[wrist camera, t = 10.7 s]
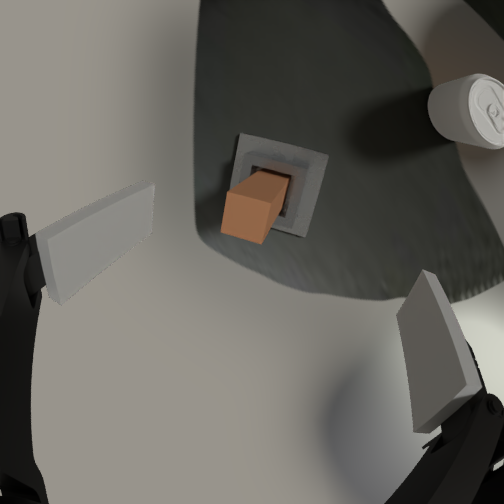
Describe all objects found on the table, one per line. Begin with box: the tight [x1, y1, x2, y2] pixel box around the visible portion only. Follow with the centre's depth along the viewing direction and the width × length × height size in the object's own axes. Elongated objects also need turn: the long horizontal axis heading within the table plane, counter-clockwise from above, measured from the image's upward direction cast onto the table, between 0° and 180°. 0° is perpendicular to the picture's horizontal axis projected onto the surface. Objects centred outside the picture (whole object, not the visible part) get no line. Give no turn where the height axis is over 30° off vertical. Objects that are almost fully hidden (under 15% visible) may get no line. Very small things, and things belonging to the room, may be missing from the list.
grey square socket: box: [230, 133, 329, 237], centre depth 36 cm, size 12×12×4 cm
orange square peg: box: [221, 168, 291, 244], centre depth 31 cm, size 4×4×14 cm
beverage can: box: [428, 74, 504, 149], centre depth 21 cm, size 8×8×12 cm
